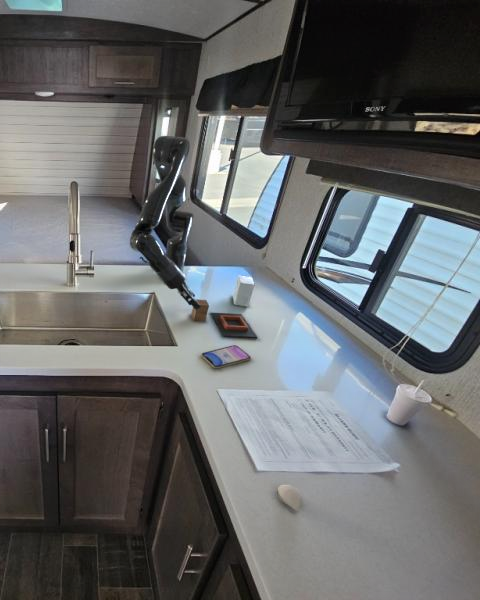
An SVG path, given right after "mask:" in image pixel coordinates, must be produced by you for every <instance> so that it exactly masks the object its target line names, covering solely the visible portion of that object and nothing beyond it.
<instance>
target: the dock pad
mask: <svg viewBox="0 0 480 600" xmlns="http://www.w3.org/2000/svg"><path fill="white" fill-rule="evenodd" d="M210 316H211V318H212V319H213V321H214V323H215V325H216V327H217V328H218V331H219V332H220V334H221V336H222V337H223V338H233V339H252V340H257V339H258V335H257V334H256V332H255V331H254V330H253V328H252V327H251V325H250V324H249V323H248V321H247V320H246V319H245V317H244V316H243V314H242V313H228V312H210Z"/></svg>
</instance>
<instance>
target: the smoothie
mask: <svg viewBox="0 0 480 600" xmlns="http://www.w3.org/2000/svg"><path fill="white" fill-rule="evenodd" d="M426 382H427V381H426V380H425V379H422V380H421V382H419V384H418V386H415V385H412V384H408V383H400V384H399V385H397V387H396V389H395V390H396V392H395V395H394V397H393V399H392V402H391V404H390V407H389V409H388V411H387V414H386V418H387V420H388V421H390V422H391V423H393V424H395V425H397V426H405V425H407V424H408V422H409V421H410V420H412V419H413V418H414V417H415V416H416V415H417V414H418V413H420V411H421V410H422V409H424V408H425V407H426V406H429V405H431V403H432V402H433V397H432V396H431V395H430V394H429V393H428V392H427V391H425V390H423V389H421V388H422V387H423V386H424V385H425V384H426Z"/></svg>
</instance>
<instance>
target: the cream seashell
mask: <svg viewBox="0 0 480 600" xmlns="http://www.w3.org/2000/svg"><path fill="white" fill-rule="evenodd" d="M276 493H277V496H278V498H279V499H280V500H281V501H282V502H283V503H285V504H286V505H287V506H288V507H290V508H292V509H294V510H295V511H298V512H299V511H300V509H301V505H302V494H301V492H300V491H299V489H297V488H296V487H295V486H293V485H290V484H286V483H285V484H281V485H279V486H278V488H277V490H276Z"/></svg>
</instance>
